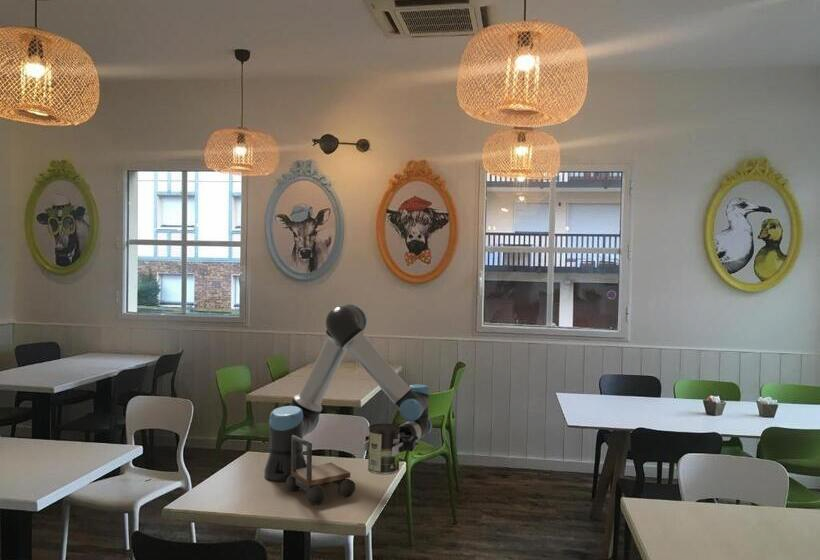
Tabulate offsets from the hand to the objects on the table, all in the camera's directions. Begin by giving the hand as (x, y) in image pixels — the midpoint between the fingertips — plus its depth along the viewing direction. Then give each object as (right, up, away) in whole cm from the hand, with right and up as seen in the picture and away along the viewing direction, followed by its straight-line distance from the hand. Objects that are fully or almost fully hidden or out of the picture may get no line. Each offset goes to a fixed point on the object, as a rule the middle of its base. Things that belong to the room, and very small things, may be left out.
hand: (378, 449), depth 203 cm
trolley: (-19, -16, +5) cm, 25 cm away
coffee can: (+2, -8, +4) cm, 9 cm away
